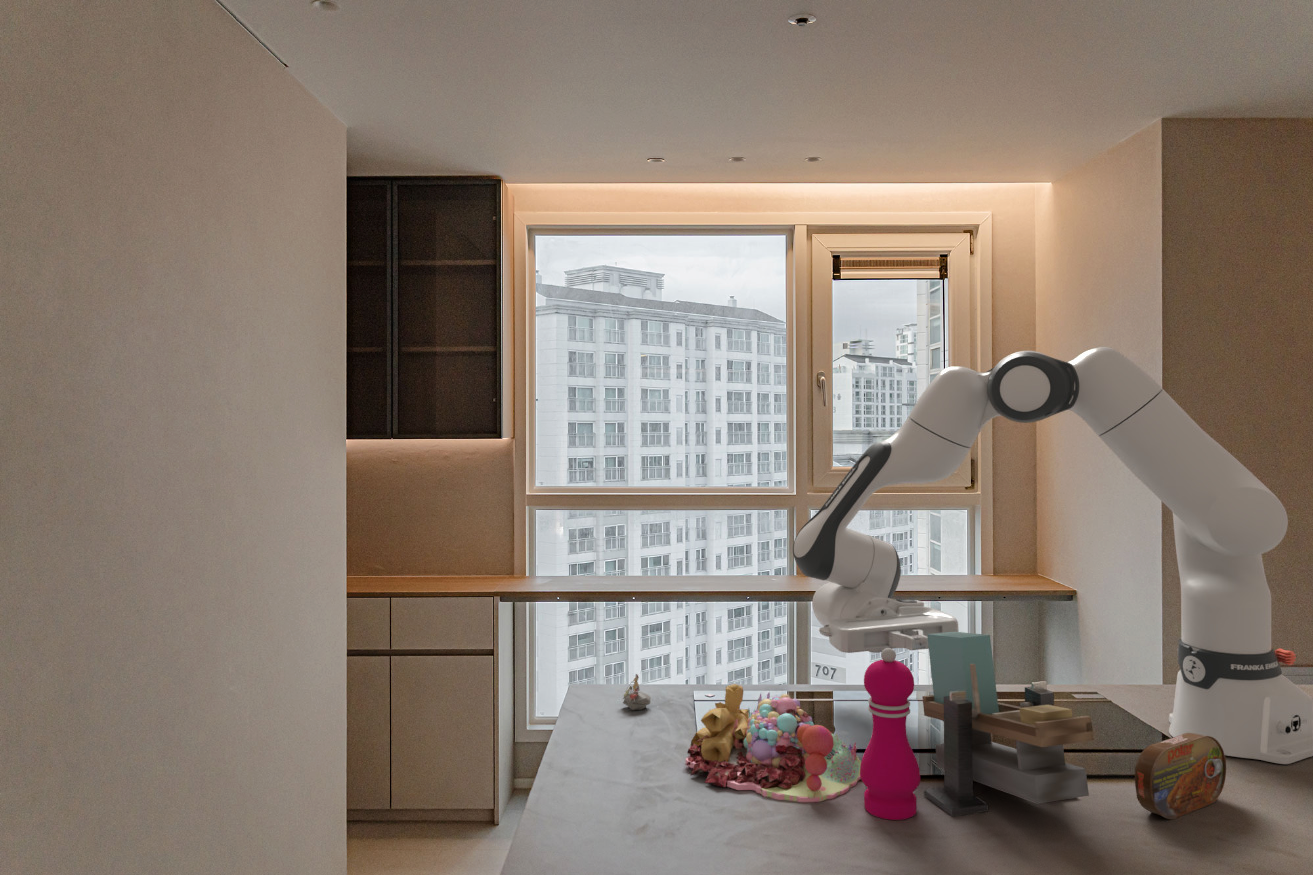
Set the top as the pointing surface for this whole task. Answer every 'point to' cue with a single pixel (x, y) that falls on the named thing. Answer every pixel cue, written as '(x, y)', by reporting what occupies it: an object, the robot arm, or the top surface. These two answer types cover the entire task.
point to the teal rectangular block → (963, 667)
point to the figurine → (636, 697)
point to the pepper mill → (889, 741)
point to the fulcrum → (967, 751)
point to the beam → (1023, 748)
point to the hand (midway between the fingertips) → (920, 644)
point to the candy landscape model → (772, 750)
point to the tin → (1180, 775)
